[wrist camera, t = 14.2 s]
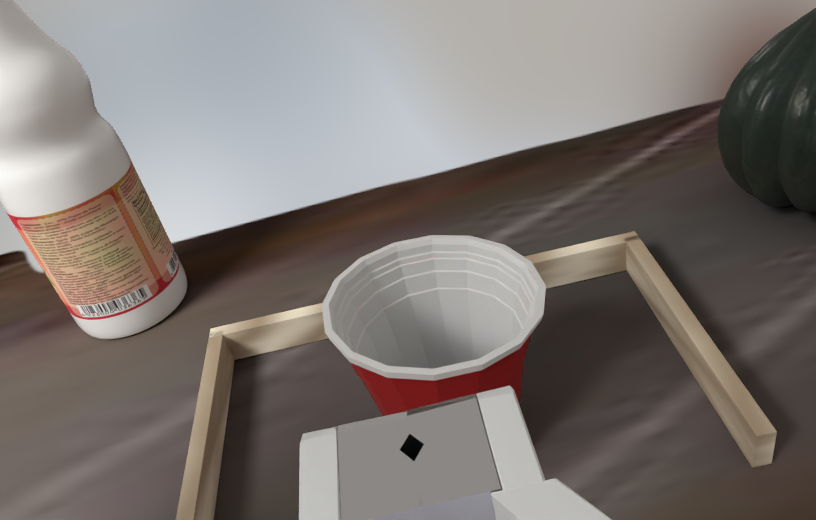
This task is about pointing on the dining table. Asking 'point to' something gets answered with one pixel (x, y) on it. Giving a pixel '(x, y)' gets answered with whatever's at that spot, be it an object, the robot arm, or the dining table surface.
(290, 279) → the dining table surface
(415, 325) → the plastic cup
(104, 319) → the fruit juice
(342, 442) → the robot arm
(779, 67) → the squash
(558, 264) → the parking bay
